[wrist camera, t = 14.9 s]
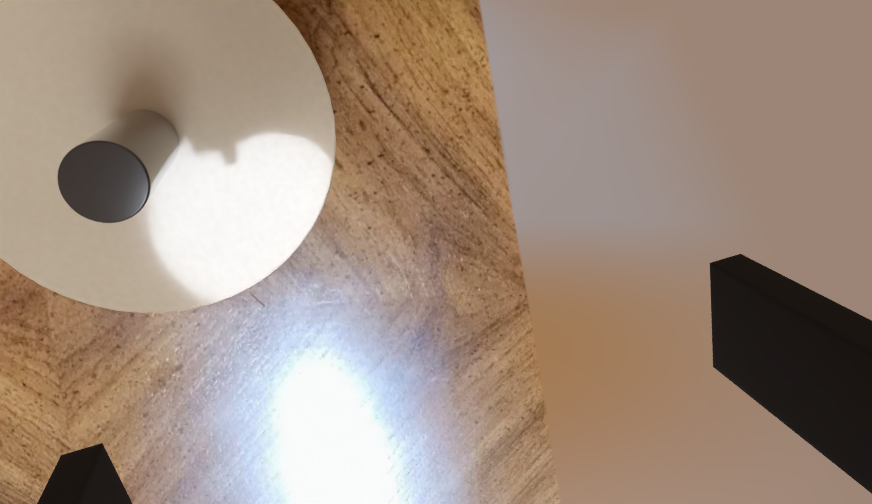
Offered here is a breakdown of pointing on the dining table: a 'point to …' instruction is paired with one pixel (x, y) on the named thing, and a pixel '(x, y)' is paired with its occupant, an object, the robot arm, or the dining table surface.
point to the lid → (158, 147)
